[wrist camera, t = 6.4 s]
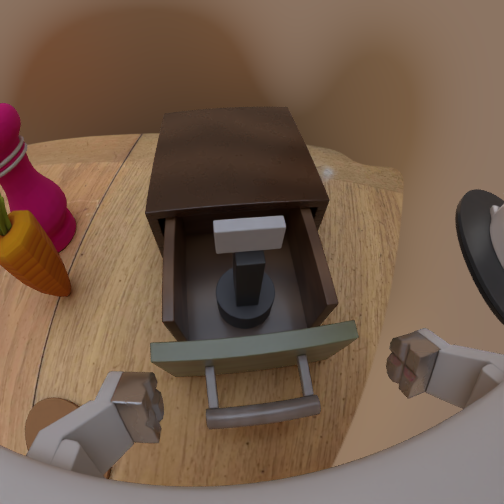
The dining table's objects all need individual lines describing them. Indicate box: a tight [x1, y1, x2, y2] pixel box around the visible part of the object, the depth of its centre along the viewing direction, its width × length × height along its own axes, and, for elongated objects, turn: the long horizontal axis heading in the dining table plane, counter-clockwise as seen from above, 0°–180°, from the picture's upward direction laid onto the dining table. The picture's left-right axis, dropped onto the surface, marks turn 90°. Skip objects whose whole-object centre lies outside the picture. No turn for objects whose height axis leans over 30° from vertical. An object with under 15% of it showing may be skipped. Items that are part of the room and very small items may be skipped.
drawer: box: [150, 207, 359, 429], centre depth 20 cm, size 18×12×7 cm
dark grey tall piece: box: [213, 216, 286, 329], centre depth 18 cm, size 4×4×10 cm
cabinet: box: [145, 107, 329, 257], centre depth 27 cm, size 15×14×9 cm
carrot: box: [0, 194, 71, 297], centre depth 18 cm, size 5×5×15 cm
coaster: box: [25, 398, 111, 479], centre depth 15 cm, size 10×10×1 cm
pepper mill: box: [0, 103, 76, 252], centre depth 19 cm, size 7×7×20 cm
